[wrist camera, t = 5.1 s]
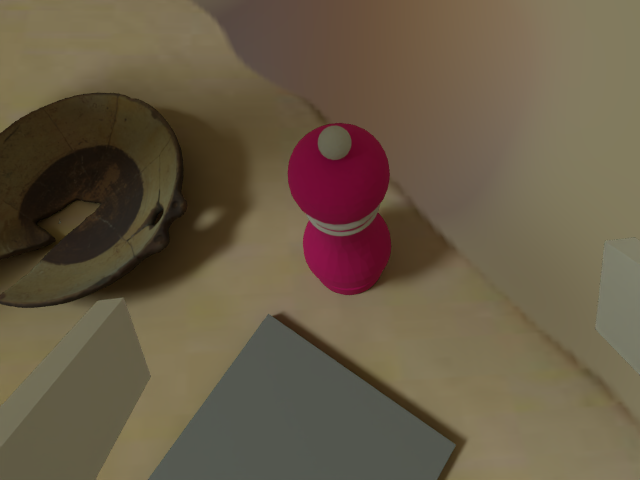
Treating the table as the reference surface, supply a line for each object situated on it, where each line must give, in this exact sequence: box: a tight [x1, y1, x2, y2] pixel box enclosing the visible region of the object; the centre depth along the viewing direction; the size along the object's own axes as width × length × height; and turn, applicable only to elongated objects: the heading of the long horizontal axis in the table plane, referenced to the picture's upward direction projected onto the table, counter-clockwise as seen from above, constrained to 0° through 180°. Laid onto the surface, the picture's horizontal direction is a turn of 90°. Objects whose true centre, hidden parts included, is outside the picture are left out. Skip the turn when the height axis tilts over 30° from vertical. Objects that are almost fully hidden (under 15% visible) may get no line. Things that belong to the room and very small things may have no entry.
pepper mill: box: [288, 123, 391, 295], centre depth 32 cm, size 7×7×20 cm
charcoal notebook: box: [148, 314, 456, 480], centre depth 35 cm, size 18×18×1 cm
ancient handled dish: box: [0, 93, 187, 308], centre depth 44 cm, size 22×30×8 cm
